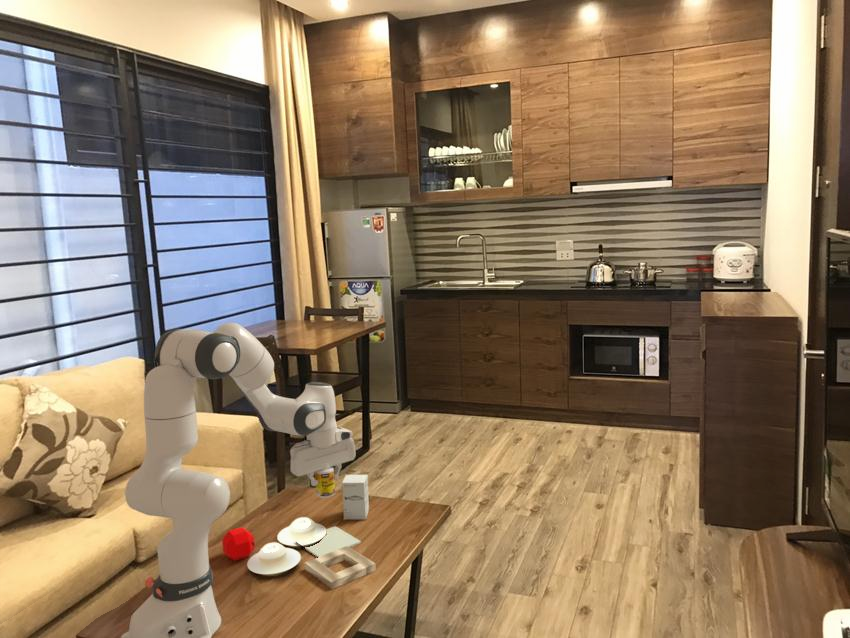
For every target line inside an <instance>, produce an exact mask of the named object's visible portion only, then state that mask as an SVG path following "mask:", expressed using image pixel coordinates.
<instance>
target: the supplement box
mask: <svg viewBox="0 0 850 638" xmlns="http://www.w3.org/2000/svg"><path fill="white" fill-rule="evenodd" d="M341 485H342V486H341V487H342V488H341V489H342V507H343V510H342V511H343V520H344V521H345V520H363V521H364V520H367V516H368V513H369V511H370V503H369V502H370V501H369V475H368V474H345V476H344V478H343V480H342V482H341Z"/></svg>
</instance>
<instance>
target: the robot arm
mask: <svg viewBox="0 0 850 638" xmlns="http://www.w3.org/2000/svg"><path fill="white" fill-rule="evenodd" d="M153 364H154V368H152V369H151V370H150V371H149V372H148V373H147V374H146V377H145V381H144V391H143V392H144V393H143V413H144V416H143V417H144V425H145V428H144V429H145V444H146V445H145V453H144V458H143V461H142V463H141V465H140V466H139V468H138V469H137V470H136V471H135V472H134V473H133V474H132V475H131V476H130V477H129V479H128V481H127V483H126V486H125V489H124V495H125V501H126V504H127V505H128V507H129V508H130V509H132V510H133V511H134V510H135V511H136V512H139V513H141V514H144V515H147V516H151V517H159V518H169V519H171V520H172V522H173V523H172V524H173V527H172V528H173V529H172V530H171V531H169V532H168V533H166V534H165V535H164V536H163V537H162V538H161V540H160V541H159V543H158V545H157V548H156V549H157V552H156V553H157V559H158V570H159V575H158V577H157V578H156V580H155V579H154V578H153V577H151V576H149V577H147V578H146V579H145V580H144V581H145V582H144V584H145V585H146V587H147V588H148V589H152V594H151V595H150V596H149V597H148V598H147V599H146V600H145V601H144V602H143V603H142V604H141V605H140V606H139V607H138V608H137V609H136V610H135V611H134V612H133V613H132V615H131V617H130V621H129V630H128V631H126V632H124V633H123V634H121V636H120V638H212V636H213V635H214V633H216V632H217V630H218V629H220V626H221V624H222V616H221V614H220V613H219V610H218V607H217V604H216V601H215V596H214V591H213V588H214V577H213V576H214V575H213V570H212V566H211V564H210V561H209V559H210V558H209V536H210V535H209V534H210V532H211V531H210V530H211V529H212V526H213V524H214V523H215V522H216V520H218V519H220V518H221V517H222V515H223V514H224V513H225V512H226V511H227V508H228V506H229V504H230V499H231V491H230V487H229V484H228V482H227V480H226V479H224V478H223V477H221V476H218V475H215V474H212V473H210V472H205V471H198V470H189V469H188V470H186V469H183V466H182V462H183V457H184V456H186V455H188V454H189V453H190V452H192V451H193V450H194V448H195V447H196V445H197V443H198V441H199V430H198V422H197V421H198V420H197V409H196V408H197V407H196V400H195V394H194V392H195V391H194V390H195V386H196V382H197V380H198V379H209V380H216V379H217V380H218V379H222V378H225V377H227V376H230V377H231V378H232V379H233V381H234V383H235V385H236V387H237V388H238V389H239V391H240V393H241V394H242V395H243V397H244V398H245V399H246V401H247V402H248V403H249V404H250V405H251V407H253V409H254V411H255V413H256V416H257V418H258V420H259V423H260V425H261V426H262V428H263V429H265V430H267V431H269V432H278V433H279V432H280V433H286V434H290V435H294V436H302V437H303V436H304V437H305V436H306V440H304V441H300V442H297V443H294V445H292V446H291V448H290V450H289V453H290V472H291V474H293V475H295V476H296V477H301V476H304V475H306V476H307V477H308V478H309V480H310V486H312V487H316V485H318V479H316V478H315V471H319V470H322V469H324V468H325V467H326V463H329V467H334V481H335V480H338V479H339V478H340V477H339V473H340V471H341V469H342V466H343V465H342V464H345V463H348V462H351V461H354V460H355V458H356V455H357V454H356V444H355V441H354V439H353V435H354V434H353V431H351V430H350V429H347V428H344V427H341V426H338V423H337V420H336V413H337V407H336V406H337V405H336V404H337V403H336V397H335V396H336V395H335V390H334V388H333V386H332V385H331V384H330V383H327V382H323V381H322V382H321V381H319V382H317V381H311V382H310V381H309V382H308V383H306V384H305V387H304V390H303V392H302V393H301V394H300V395H299V396H298V397H296V398H289V397H284V396H281V395H277V394H274V393H273V392H272V391H271V390H270V389H269V388H268V386H267V385H266V384H267V383H268V382H269V380H270V379H271V378H272V376H273V373H274V370H275V362H274V359H273V357H272V355H271V354H270V352H269V350H268V349H266V347H265V346H264V345H263V344H262V342H260V340H258V339H257V338H256V336H255V335H253V333H251V332H250V331H249V330H248V329H246V328H245V327H243V326H242V325H240V324H239V323H236V322H225V323H223V324H221V325H219V326H217V328H216V329H215V330H213V332H211V331H206V330H202V329H193V328H189V329H187V328H186V329H184V328H177V329H176V328H175V329H171V330H168V331H166V332H165V333H163V334H162V335H160V337H159V339H158V341H157V342H156V346H155V349H154V360H153Z"/></svg>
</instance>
